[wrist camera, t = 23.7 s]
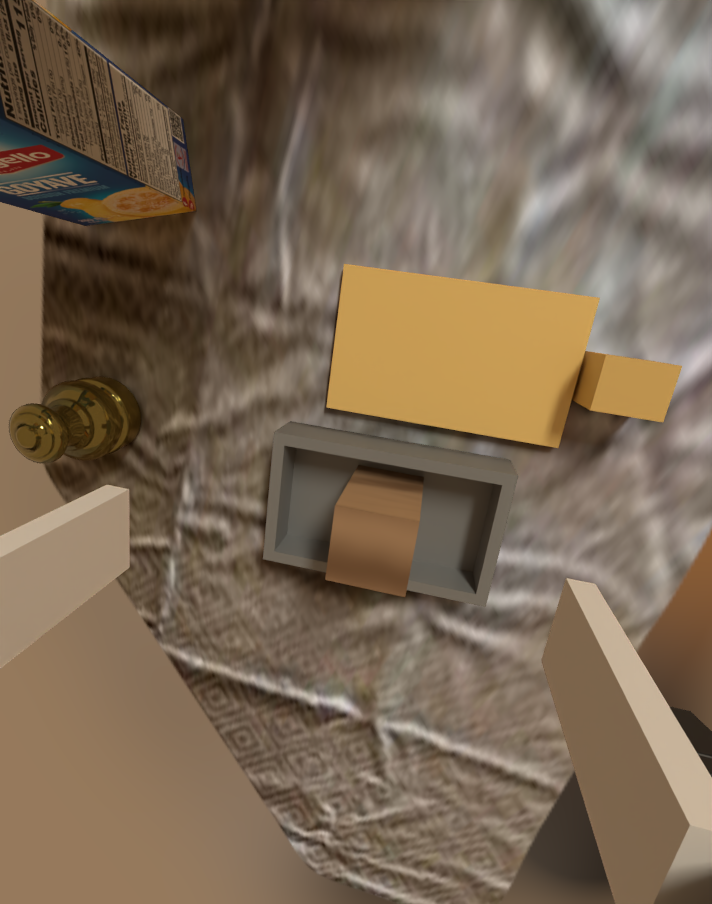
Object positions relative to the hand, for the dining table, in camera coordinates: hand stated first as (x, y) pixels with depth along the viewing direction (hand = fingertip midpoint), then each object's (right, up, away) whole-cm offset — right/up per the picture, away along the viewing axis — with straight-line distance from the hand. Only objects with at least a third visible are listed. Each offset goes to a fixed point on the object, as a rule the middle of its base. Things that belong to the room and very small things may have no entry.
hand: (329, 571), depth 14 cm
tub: (+4, -1, +30) cm, 30 cm away
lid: (+12, +11, +25) cm, 30 cm away
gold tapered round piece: (-24, +7, +33) cm, 41 cm away
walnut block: (+4, -1, +29) cm, 29 cm away
